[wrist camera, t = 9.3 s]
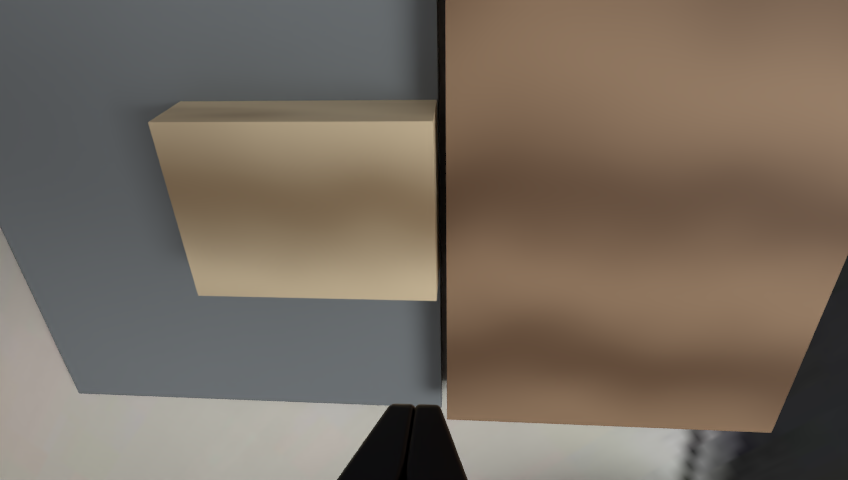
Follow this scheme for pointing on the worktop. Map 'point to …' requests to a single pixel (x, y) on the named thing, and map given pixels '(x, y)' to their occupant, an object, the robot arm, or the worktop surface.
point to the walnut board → (641, 206)
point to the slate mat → (151, 206)
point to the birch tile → (305, 196)
